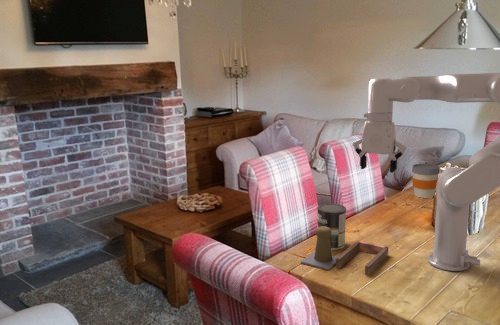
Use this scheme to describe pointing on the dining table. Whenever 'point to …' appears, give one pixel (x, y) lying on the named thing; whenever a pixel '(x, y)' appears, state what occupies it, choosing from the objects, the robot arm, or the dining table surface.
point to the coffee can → (333, 223)
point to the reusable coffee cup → (424, 179)
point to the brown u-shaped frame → (366, 247)
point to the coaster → (322, 265)
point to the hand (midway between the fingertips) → (377, 170)
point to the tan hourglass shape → (323, 245)
